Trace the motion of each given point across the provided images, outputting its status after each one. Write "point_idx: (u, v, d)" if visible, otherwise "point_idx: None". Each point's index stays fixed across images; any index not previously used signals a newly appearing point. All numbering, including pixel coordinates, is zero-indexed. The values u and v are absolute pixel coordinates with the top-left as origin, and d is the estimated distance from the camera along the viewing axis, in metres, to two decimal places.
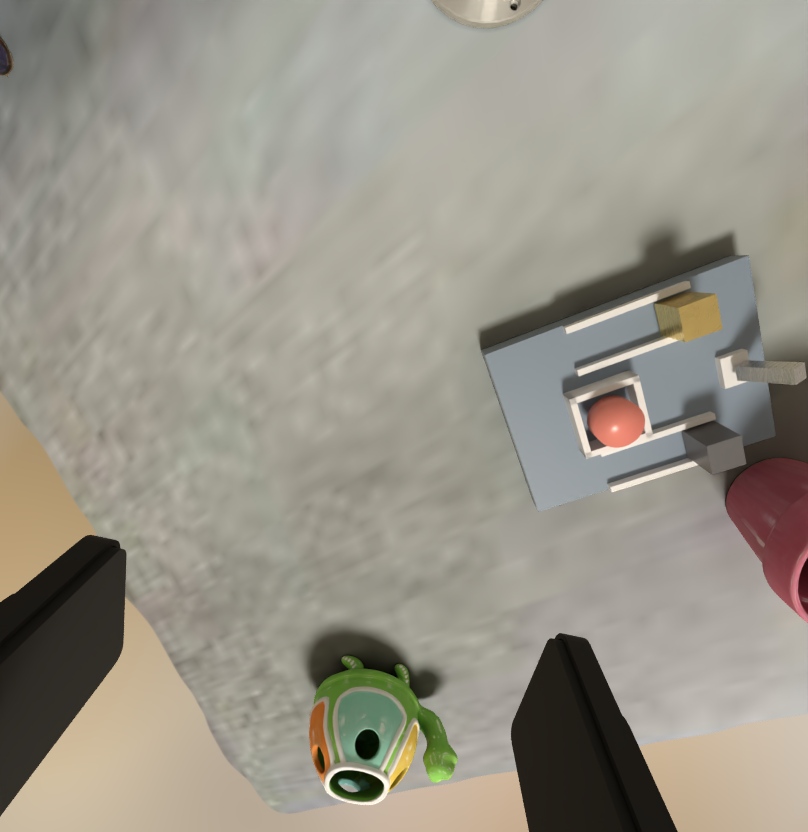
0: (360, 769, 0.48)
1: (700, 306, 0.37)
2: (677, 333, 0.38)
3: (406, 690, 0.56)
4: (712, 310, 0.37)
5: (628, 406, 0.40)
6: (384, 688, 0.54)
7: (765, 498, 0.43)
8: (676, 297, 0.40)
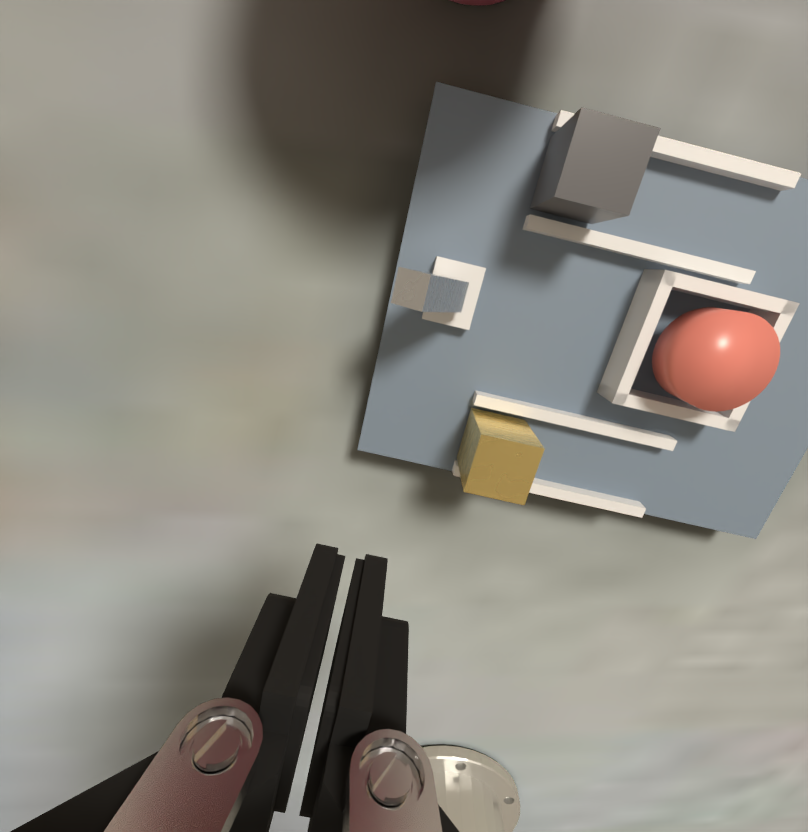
0: None
1: (494, 488, 0.21)
2: None
3: None
4: (480, 471, 0.21)
5: (688, 388, 0.20)
6: None
7: None
8: None
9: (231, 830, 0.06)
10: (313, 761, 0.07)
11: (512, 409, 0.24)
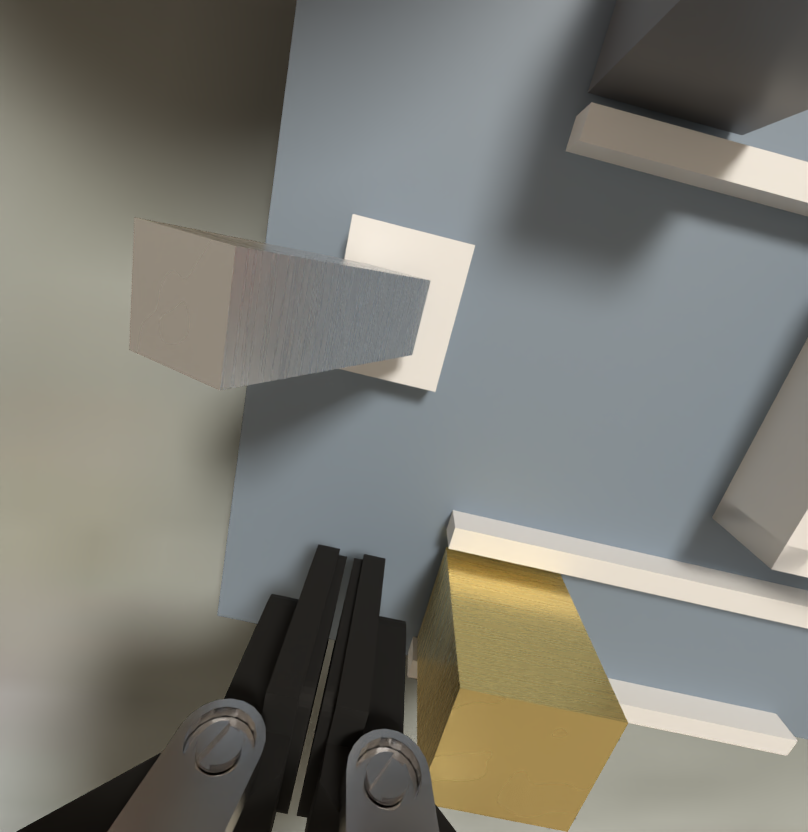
0: None
1: (493, 798, 0.09)
2: None
3: None
4: (459, 765, 0.08)
5: None
6: None
7: None
8: None
9: (234, 831, 0.06)
10: (310, 761, 0.07)
11: (532, 559, 0.11)
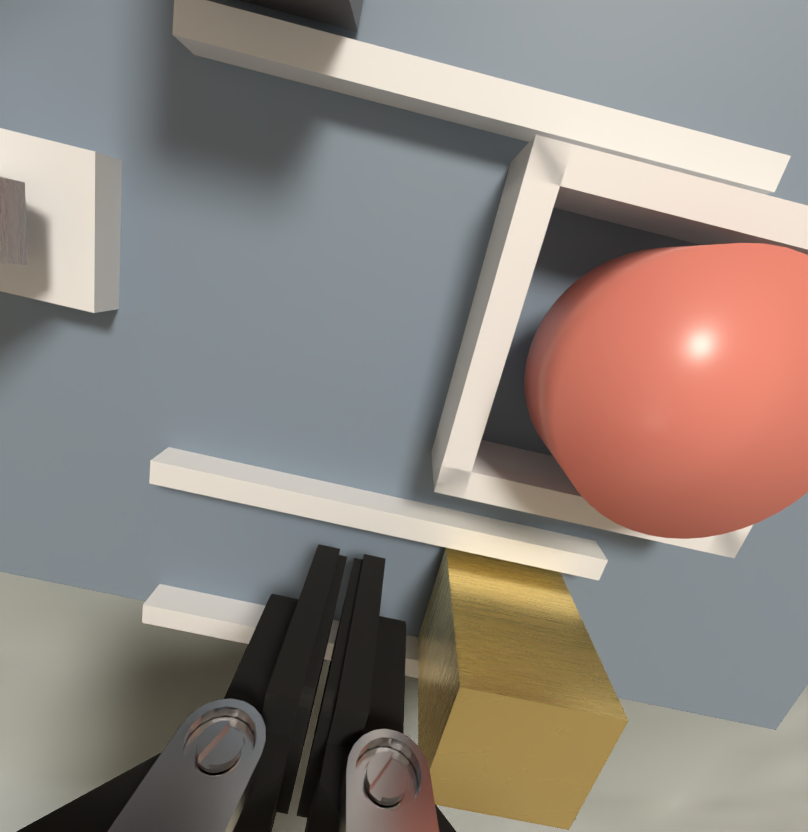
0: None
1: (494, 796, 0.09)
2: None
3: None
4: (460, 763, 0.08)
5: (600, 478, 0.07)
6: None
7: None
8: None
9: (234, 831, 0.06)
10: (310, 761, 0.07)
11: (236, 493, 0.11)
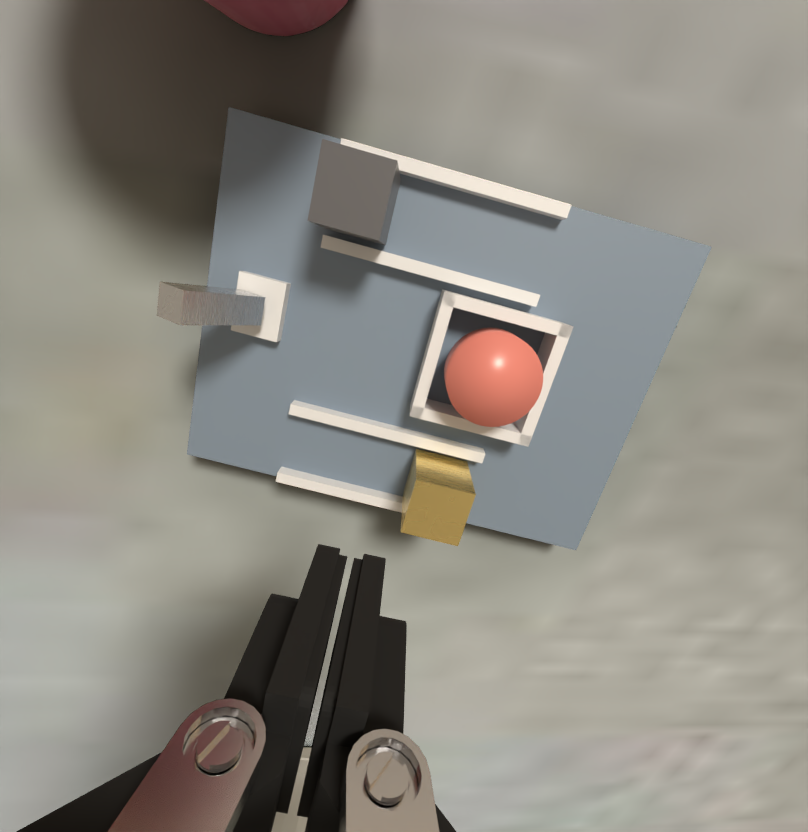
0: None
1: (429, 529, 0.23)
2: None
3: None
4: (416, 514, 0.22)
5: (462, 404, 0.21)
6: None
7: None
8: None
9: (234, 831, 0.06)
10: (310, 761, 0.07)
11: (326, 419, 0.25)
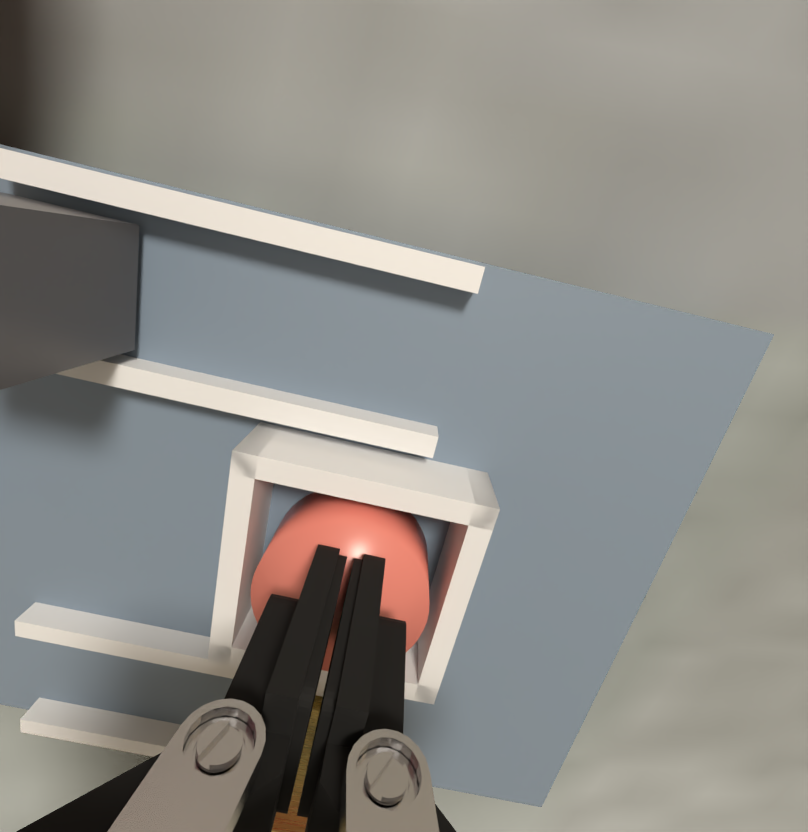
0: None
1: None
2: None
3: None
4: None
5: None
6: None
7: None
8: None
9: (234, 831, 0.06)
10: (310, 761, 0.07)
11: (82, 643, 0.14)
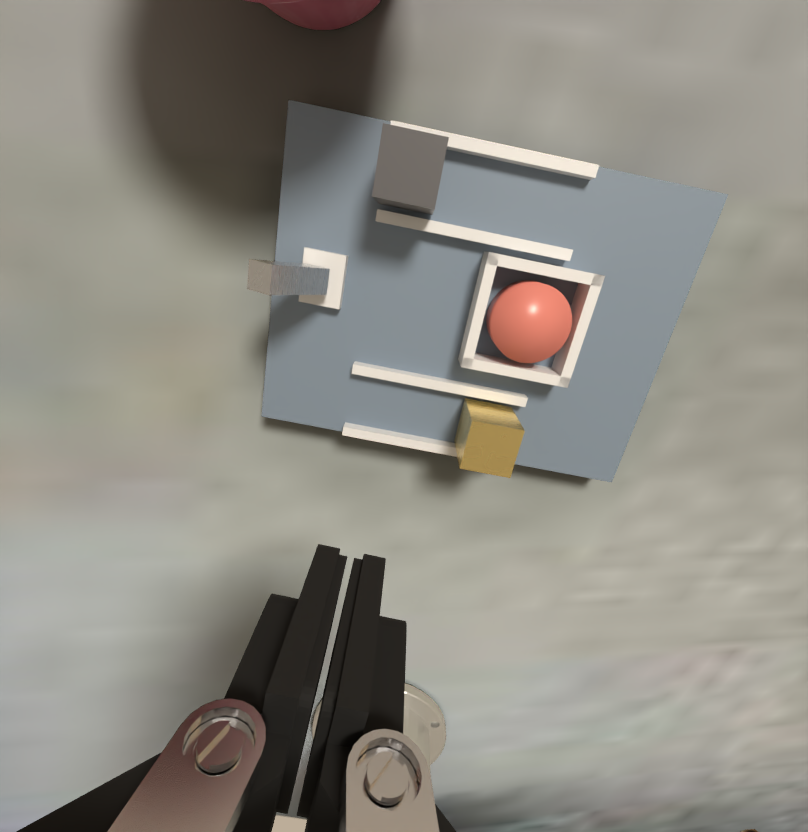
0: None
1: (484, 464, 0.26)
2: None
3: None
4: (473, 451, 0.26)
5: (505, 345, 0.25)
6: None
7: None
8: None
9: (234, 831, 0.06)
10: (310, 761, 0.07)
11: (384, 376, 0.28)
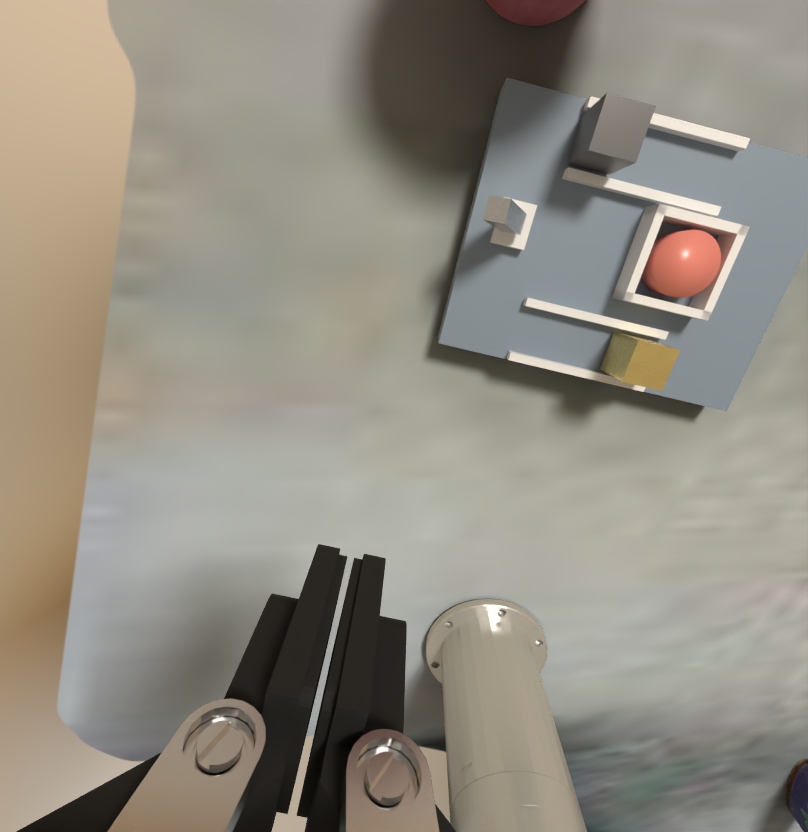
0: None
1: (643, 378, 0.32)
2: None
3: None
4: (635, 366, 0.31)
5: (663, 282, 0.31)
6: None
7: None
8: None
9: (234, 831, 0.06)
10: (310, 761, 0.07)
11: (552, 309, 0.34)
